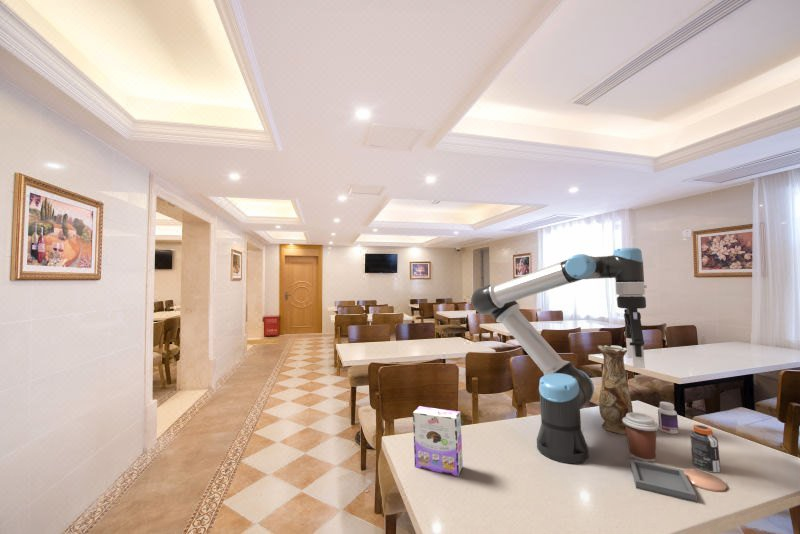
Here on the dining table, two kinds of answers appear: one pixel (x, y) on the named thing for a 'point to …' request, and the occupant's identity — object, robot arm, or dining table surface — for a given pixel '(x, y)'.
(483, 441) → the dining table surface
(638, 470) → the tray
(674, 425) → the pill bottle
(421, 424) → the candy box
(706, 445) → the pill bottle
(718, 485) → the peach flat disc
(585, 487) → the dining table surface
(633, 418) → the coffee cup
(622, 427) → the vase
